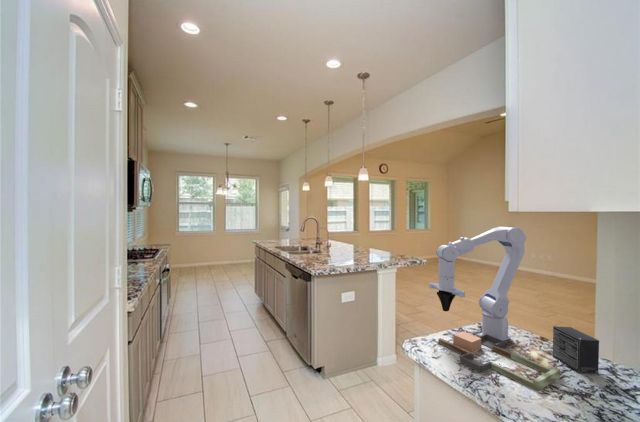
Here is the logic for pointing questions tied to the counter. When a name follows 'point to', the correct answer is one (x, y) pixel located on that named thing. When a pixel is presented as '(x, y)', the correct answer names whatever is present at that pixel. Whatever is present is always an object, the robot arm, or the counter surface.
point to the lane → (536, 384)
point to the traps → (477, 365)
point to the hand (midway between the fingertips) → (445, 310)
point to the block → (467, 341)
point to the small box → (576, 349)
